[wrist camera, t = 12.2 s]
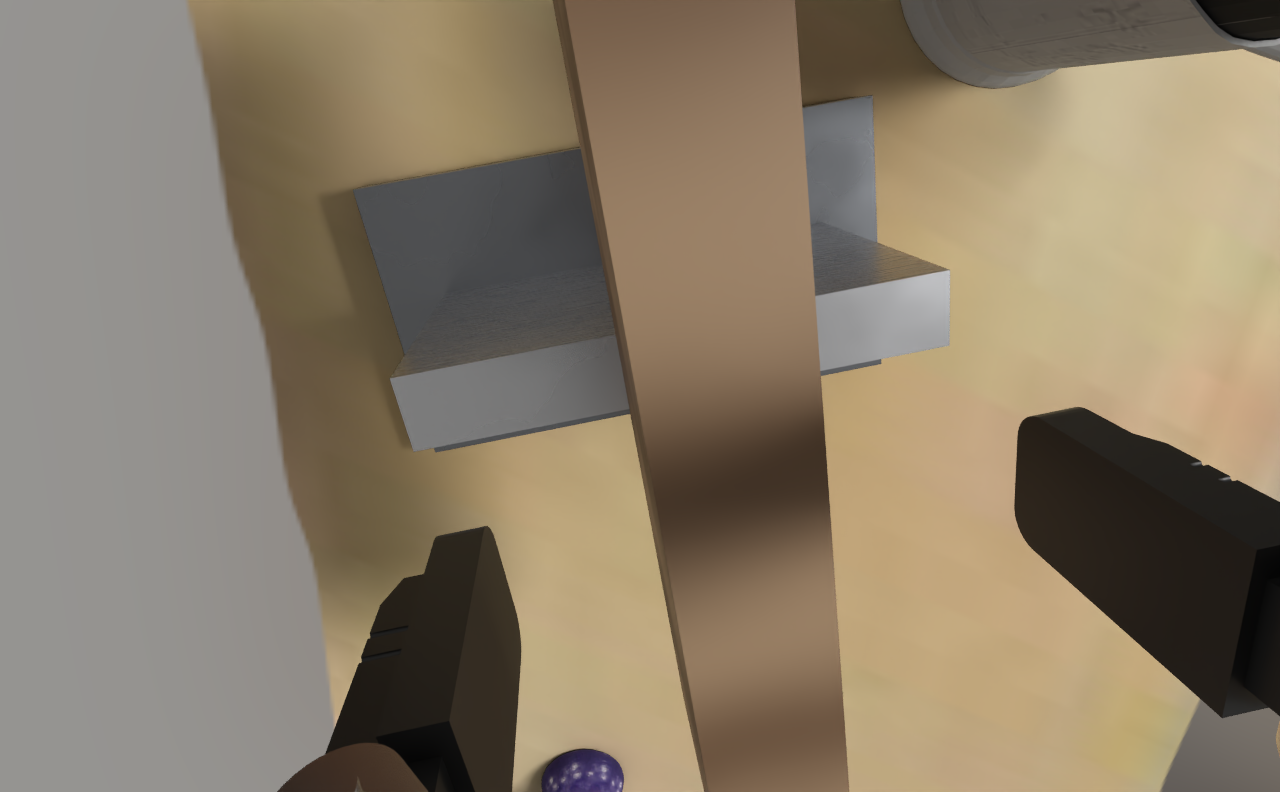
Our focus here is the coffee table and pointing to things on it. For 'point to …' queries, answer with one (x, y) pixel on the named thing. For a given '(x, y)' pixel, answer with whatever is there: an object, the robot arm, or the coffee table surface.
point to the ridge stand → (601, 286)
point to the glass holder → (1081, 33)
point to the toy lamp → (583, 773)
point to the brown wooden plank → (720, 363)
